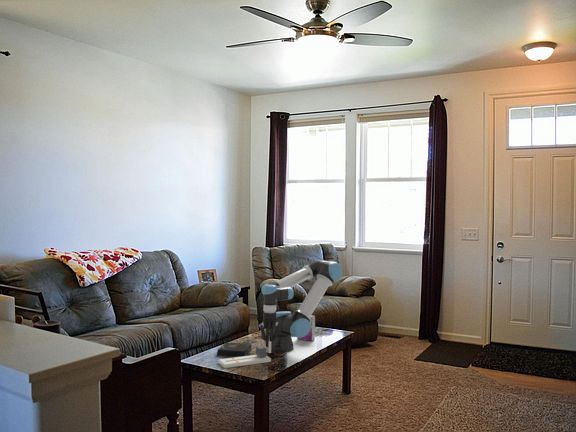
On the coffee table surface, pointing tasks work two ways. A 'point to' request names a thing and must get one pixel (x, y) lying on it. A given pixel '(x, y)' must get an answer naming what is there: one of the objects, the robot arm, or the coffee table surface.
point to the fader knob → (261, 351)
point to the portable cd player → (234, 350)
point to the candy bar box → (310, 331)
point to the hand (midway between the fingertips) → (268, 352)
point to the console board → (243, 361)
